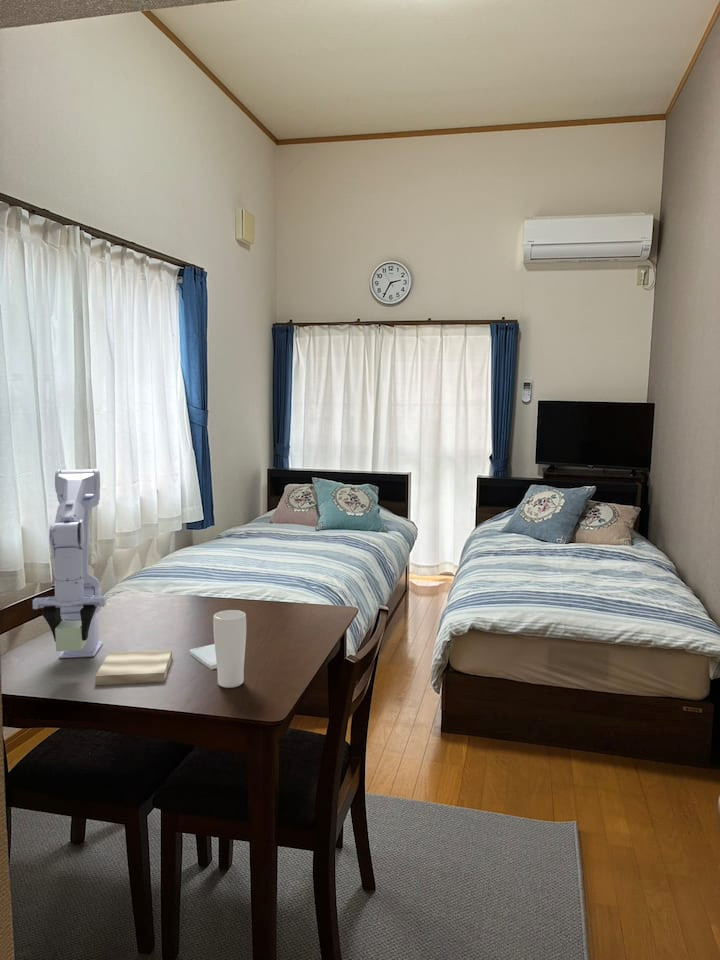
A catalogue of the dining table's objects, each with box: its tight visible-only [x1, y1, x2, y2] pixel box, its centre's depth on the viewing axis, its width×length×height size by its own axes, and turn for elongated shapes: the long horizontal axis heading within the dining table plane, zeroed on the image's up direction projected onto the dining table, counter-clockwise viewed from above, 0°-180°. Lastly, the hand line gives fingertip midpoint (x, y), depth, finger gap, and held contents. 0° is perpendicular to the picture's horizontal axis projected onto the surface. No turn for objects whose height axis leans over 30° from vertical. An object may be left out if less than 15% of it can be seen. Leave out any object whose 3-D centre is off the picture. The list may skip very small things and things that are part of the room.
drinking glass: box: [212, 609, 247, 689], centre depth 146 cm, size 7×7×15 cm
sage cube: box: [55, 620, 87, 652], centre depth 150 cm, size 5×5×5 cm
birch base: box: [94, 649, 173, 686], centre depth 154 cm, size 14×14×2 cm
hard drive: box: [188, 643, 217, 670], centre depth 162 cm, size 2×8×12 cm
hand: (71, 639), depth 150 cm, fingers closed on sage cube, 5 cm apart
